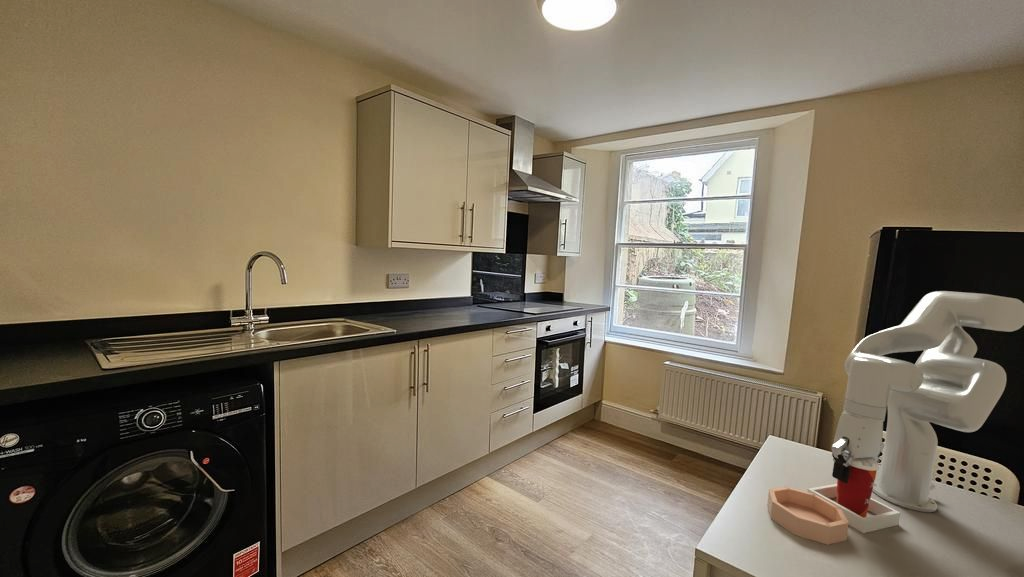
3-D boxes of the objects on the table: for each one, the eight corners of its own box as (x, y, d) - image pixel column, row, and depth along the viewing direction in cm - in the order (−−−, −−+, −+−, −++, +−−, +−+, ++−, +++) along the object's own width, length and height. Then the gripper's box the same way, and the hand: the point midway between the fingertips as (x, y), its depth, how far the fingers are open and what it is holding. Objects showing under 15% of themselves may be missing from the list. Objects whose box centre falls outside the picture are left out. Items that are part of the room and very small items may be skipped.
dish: (795, 499, 101) (797, 484, 101) (858, 537, 88) (861, 519, 88) (754, 507, 97) (756, 491, 97) (814, 547, 84) (816, 529, 83)
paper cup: (879, 525, 93) (888, 467, 92) (842, 518, 95) (850, 461, 94) (858, 505, 101) (865, 451, 100) (823, 499, 102) (830, 446, 101)
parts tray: (839, 493, 106) (841, 482, 105) (898, 524, 94) (900, 512, 94) (806, 499, 102) (807, 488, 101) (863, 533, 90) (865, 520, 89)
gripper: (869, 403, 102) (859, 467, 103) (822, 404, 96) (812, 473, 97) (906, 414, 95) (894, 483, 96) (858, 416, 89) (846, 490, 90)
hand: (853, 478), depth 97 cm, fingers open, 9 cm apart
